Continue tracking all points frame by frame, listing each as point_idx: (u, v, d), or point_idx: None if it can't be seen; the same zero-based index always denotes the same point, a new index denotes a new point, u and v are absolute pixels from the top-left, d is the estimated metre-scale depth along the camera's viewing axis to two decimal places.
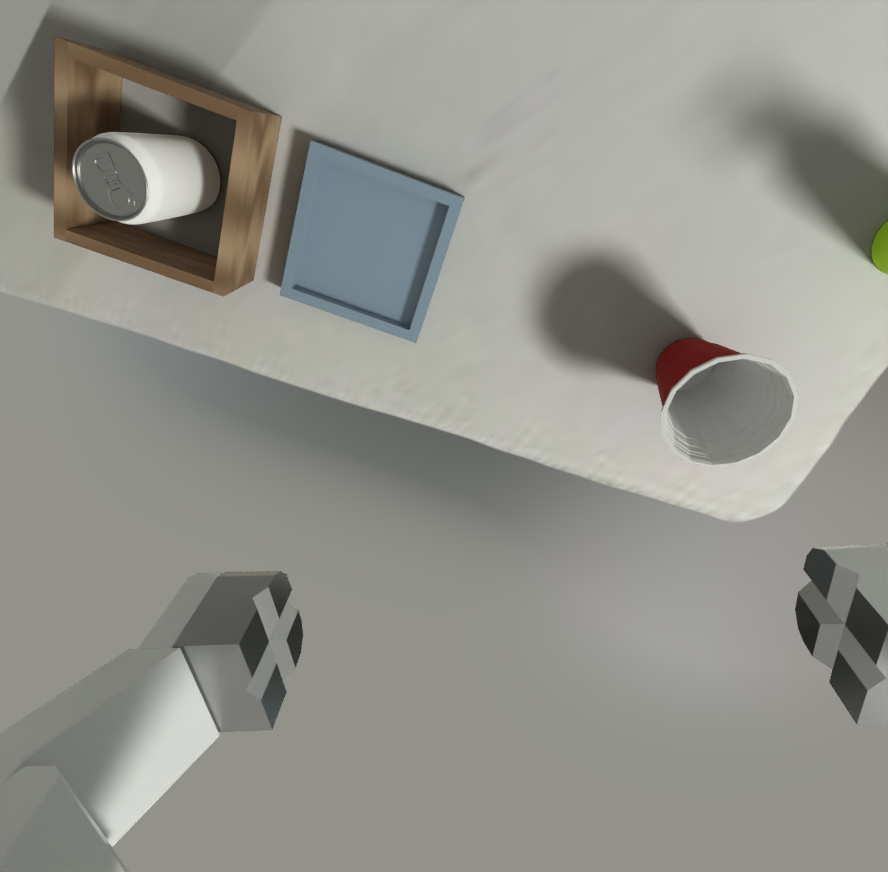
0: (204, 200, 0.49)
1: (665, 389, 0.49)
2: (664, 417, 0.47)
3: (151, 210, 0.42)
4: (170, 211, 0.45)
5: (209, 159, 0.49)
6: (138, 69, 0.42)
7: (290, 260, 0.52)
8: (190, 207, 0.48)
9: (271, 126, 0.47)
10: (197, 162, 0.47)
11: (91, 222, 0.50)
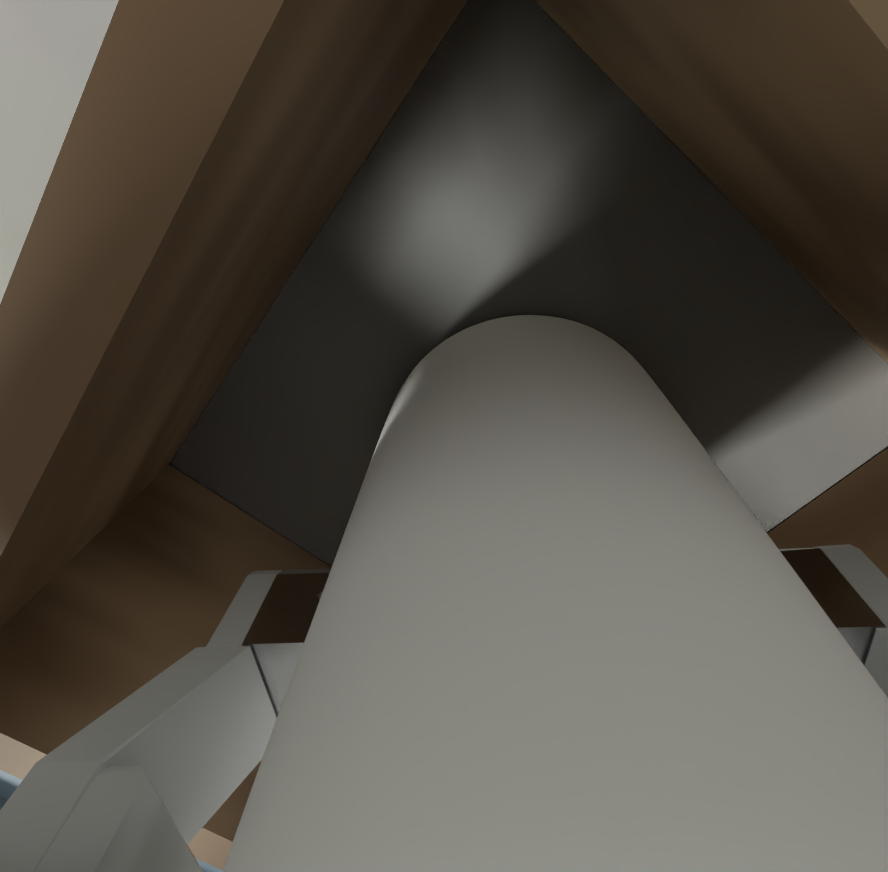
0: None
1: None
2: None
3: None
4: None
5: None
6: None
7: None
8: None
9: None
10: None
11: None
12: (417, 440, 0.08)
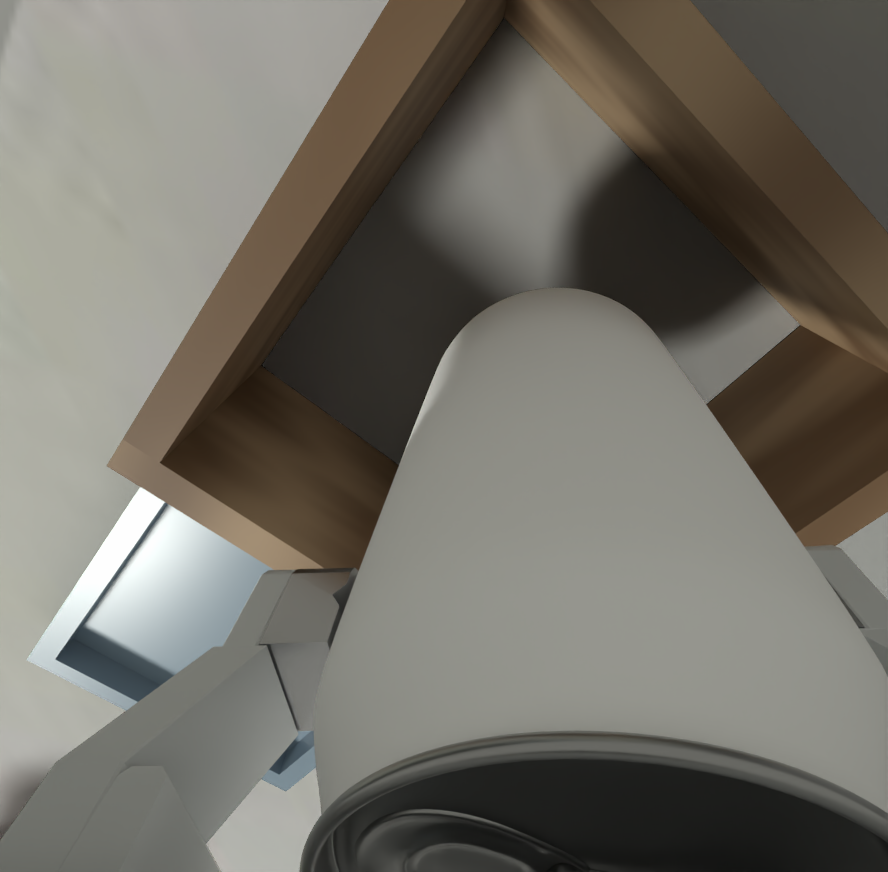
0: None
1: None
2: None
3: None
4: None
5: None
6: None
7: None
8: None
9: None
10: None
11: None
12: (470, 373, 0.10)
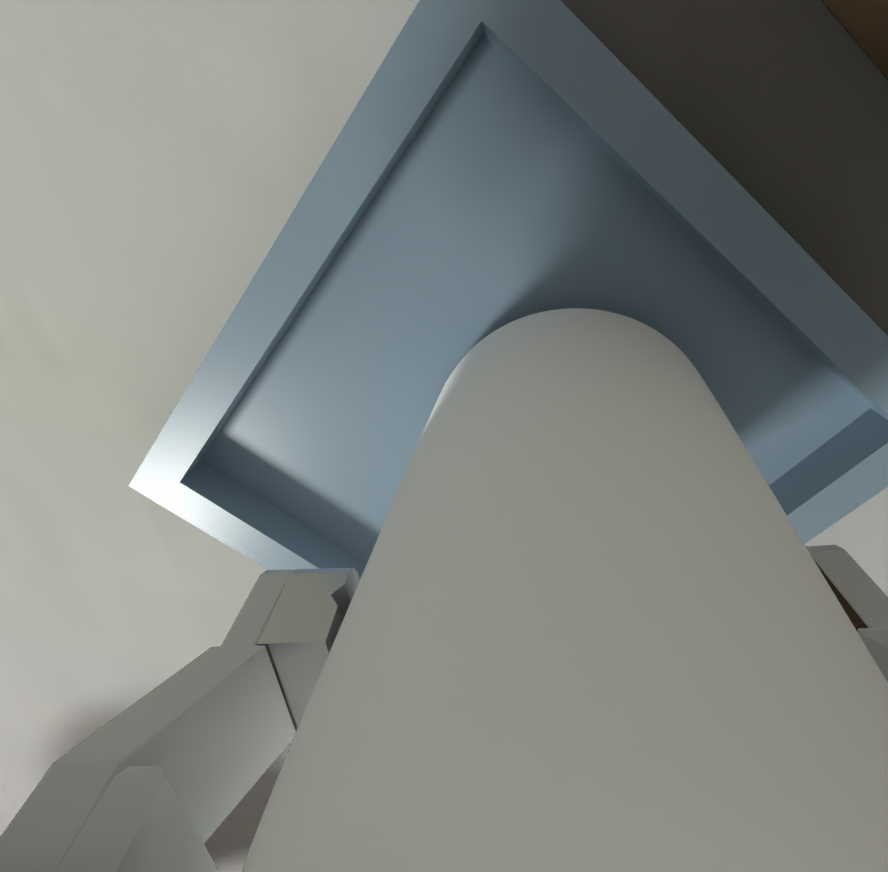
0: None
1: None
2: None
3: None
4: None
5: None
6: None
7: (617, 94, 0.10)
8: None
9: None
10: None
11: None
12: (469, 423, 0.08)
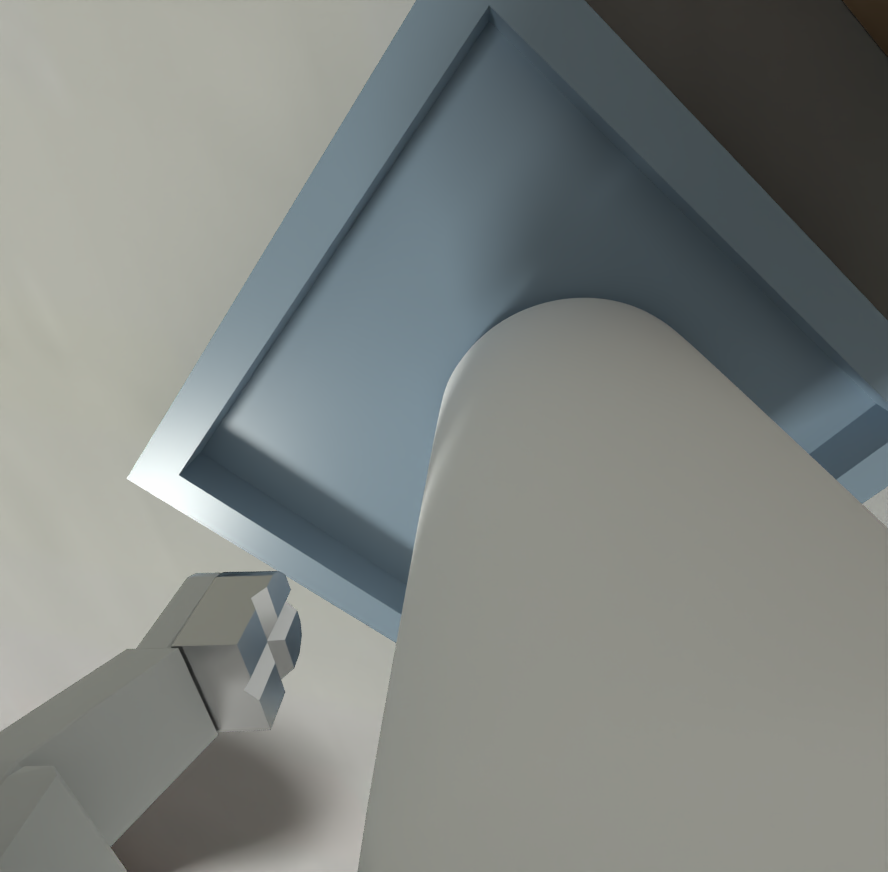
0: None
1: None
2: None
3: None
4: None
5: None
6: None
7: (626, 81, 0.10)
8: None
9: None
10: None
11: None
12: (510, 401, 0.08)
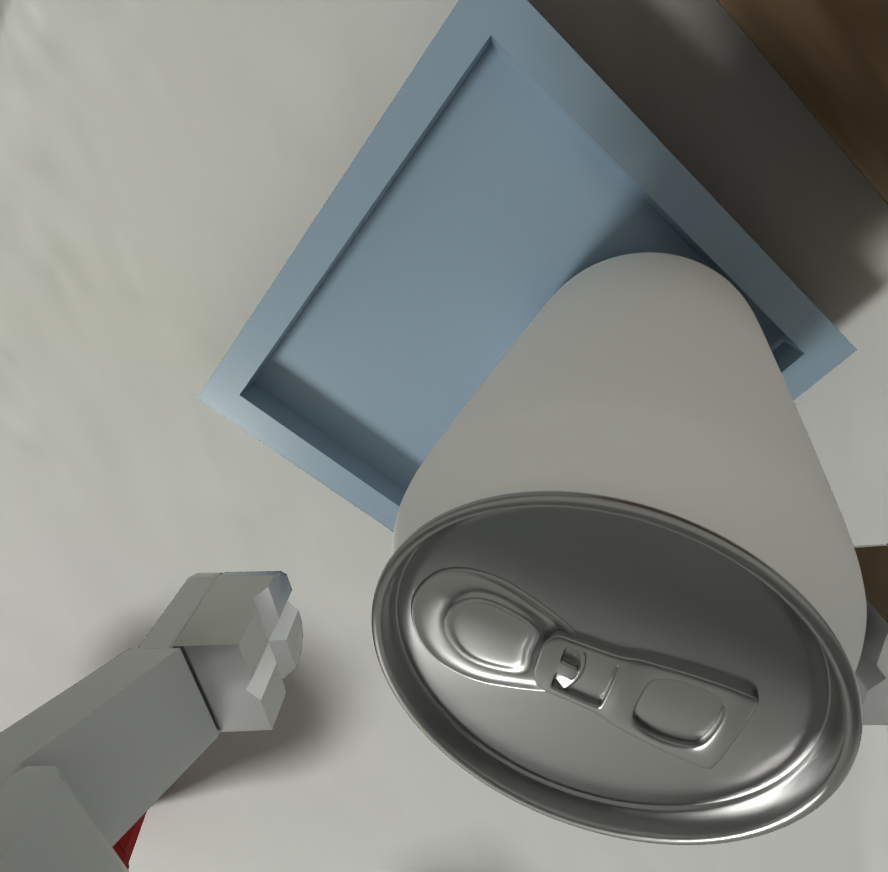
0: None
1: None
2: None
3: None
4: None
5: None
6: None
7: (588, 90, 0.13)
8: None
9: None
10: None
11: None
12: (558, 308, 0.12)
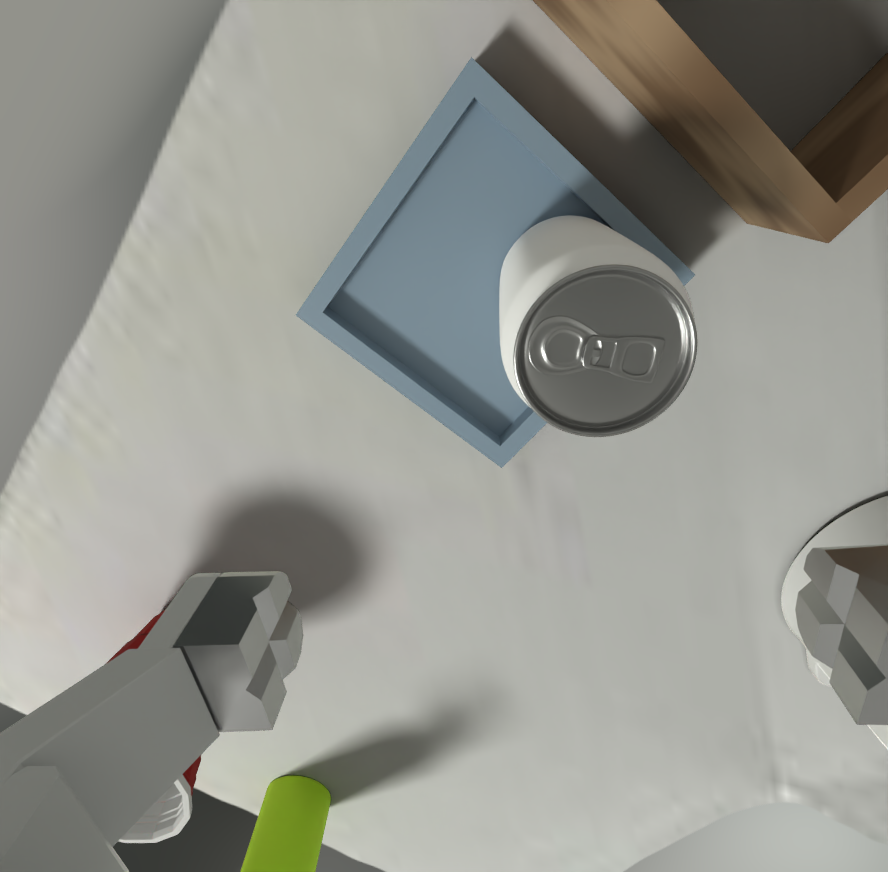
0: None
1: None
2: None
3: (512, 377, 0.19)
4: None
5: None
6: None
7: (528, 126, 0.24)
8: None
9: (755, 215, 0.25)
10: None
11: None
12: (538, 238, 0.22)
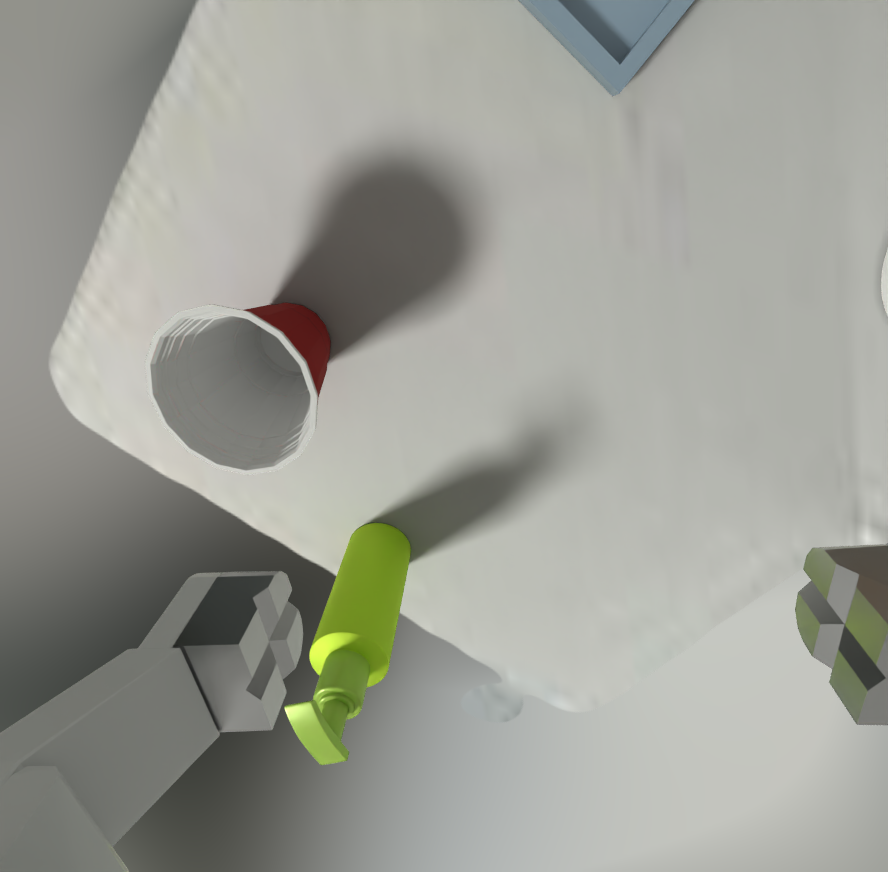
0: None
1: (275, 318, 0.34)
2: (237, 314, 0.31)
3: None
4: None
5: None
6: None
7: None
8: None
9: None
10: None
11: None
12: None
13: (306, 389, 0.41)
